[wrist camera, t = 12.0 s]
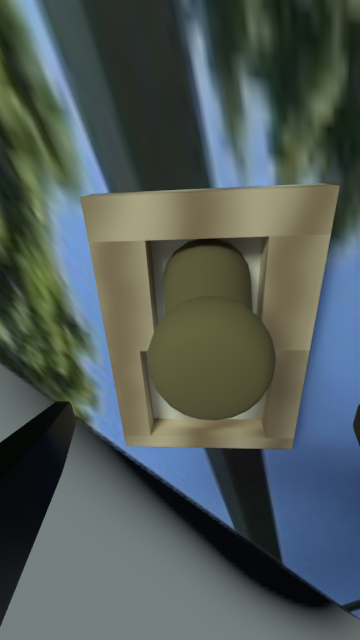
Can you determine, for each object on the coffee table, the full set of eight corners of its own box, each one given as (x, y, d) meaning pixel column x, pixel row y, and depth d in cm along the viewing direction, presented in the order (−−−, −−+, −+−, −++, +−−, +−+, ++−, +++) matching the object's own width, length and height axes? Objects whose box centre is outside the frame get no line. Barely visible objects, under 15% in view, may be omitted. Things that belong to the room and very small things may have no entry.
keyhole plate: (323, 183, 18) (339, 185, 16) (284, 426, 27) (291, 449, 25) (94, 193, 19) (80, 197, 17) (131, 424, 28) (126, 445, 26)
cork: (221, 333, 22) (236, 462, 13) (148, 297, 21) (105, 407, 12) (268, 265, 20) (335, 361, 10) (188, 220, 19) (176, 278, 9)
